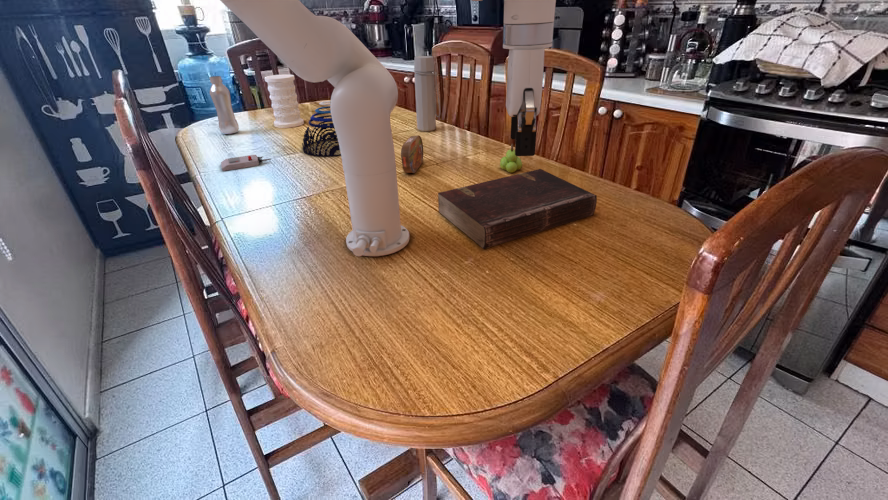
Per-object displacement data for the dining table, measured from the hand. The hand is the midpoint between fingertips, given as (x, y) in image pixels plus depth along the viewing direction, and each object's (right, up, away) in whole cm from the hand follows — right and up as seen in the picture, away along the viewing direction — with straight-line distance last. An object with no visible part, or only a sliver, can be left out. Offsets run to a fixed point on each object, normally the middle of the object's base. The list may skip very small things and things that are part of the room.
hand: (521, 146), depth 72 cm
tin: (-22, +6, +48) cm, 53 cm away
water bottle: (-19, +27, +84) cm, 90 cm away
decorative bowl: (-50, +16, +67) cm, 86 cm away
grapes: (+5, +5, +46) cm, 47 cm away
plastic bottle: (-95, +26, +85) cm, 130 cm away
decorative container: (-76, +33, +96) cm, 127 cm away
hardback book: (+2, -10, +21) cm, 23 cm away
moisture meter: (-74, +8, +54) cm, 92 cm away
